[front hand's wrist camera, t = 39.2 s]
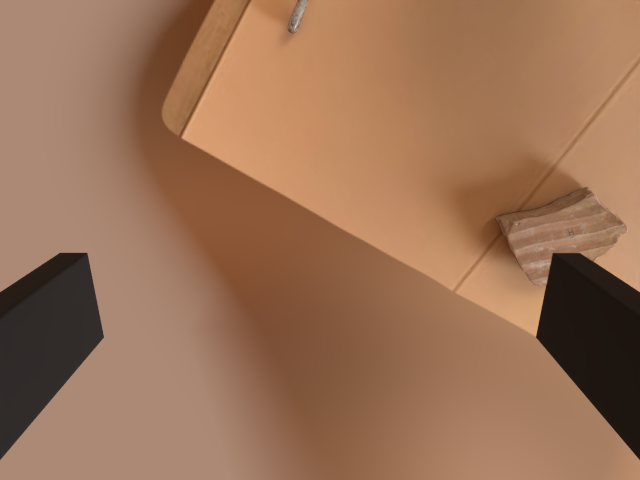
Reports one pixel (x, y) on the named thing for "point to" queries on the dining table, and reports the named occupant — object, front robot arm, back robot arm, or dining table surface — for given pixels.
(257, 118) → the dining table surface
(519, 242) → the stone
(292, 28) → the putty knife
